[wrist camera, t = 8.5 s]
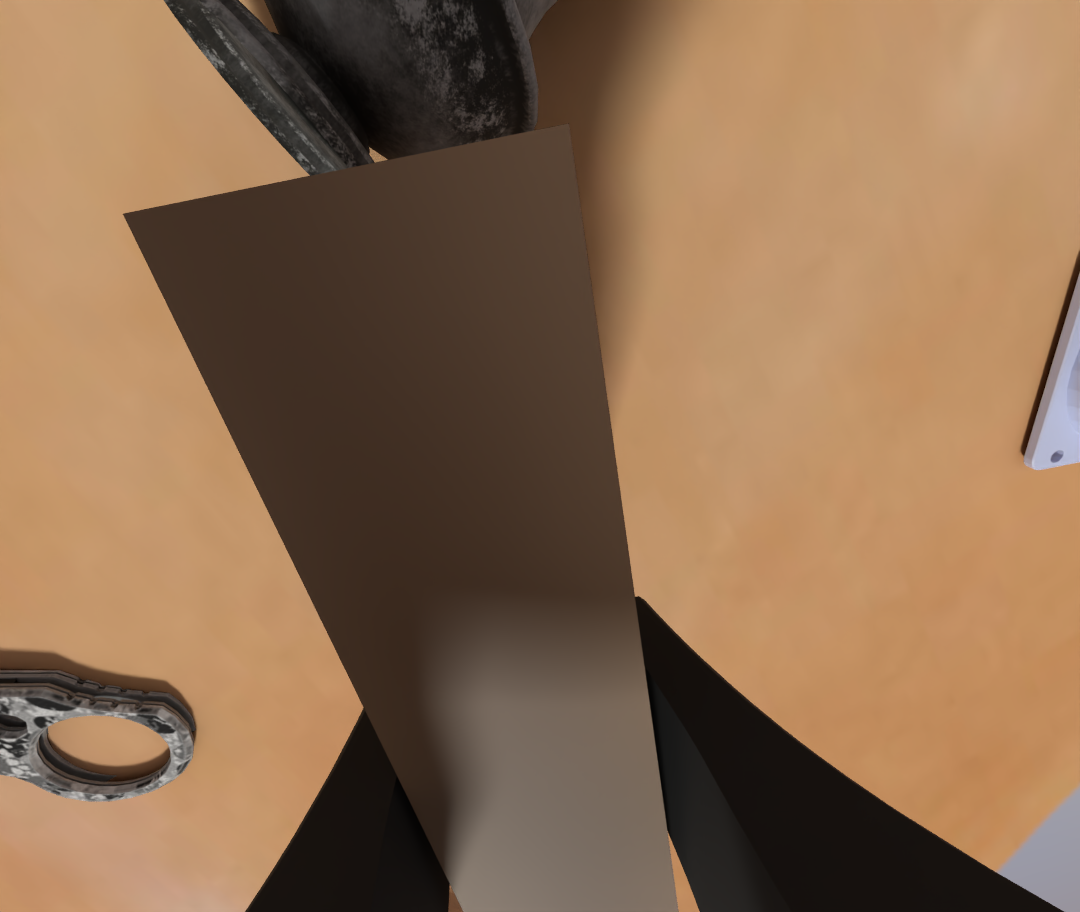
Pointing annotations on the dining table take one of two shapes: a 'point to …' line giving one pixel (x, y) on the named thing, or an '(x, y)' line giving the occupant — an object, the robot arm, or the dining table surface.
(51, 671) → the knife
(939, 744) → the dining table surface
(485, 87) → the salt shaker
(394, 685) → the dark wooden brick
